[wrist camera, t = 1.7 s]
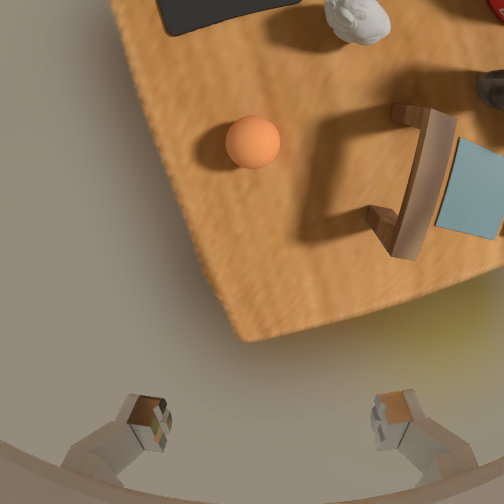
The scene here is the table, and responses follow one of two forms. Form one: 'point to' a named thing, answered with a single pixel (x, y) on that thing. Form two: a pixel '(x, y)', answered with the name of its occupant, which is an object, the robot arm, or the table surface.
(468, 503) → the robot arm
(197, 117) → the table surface
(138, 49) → the table surface
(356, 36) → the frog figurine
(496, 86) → the beverage cup
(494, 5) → the canned food
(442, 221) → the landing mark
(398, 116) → the bridge
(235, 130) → the ball
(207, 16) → the phone
